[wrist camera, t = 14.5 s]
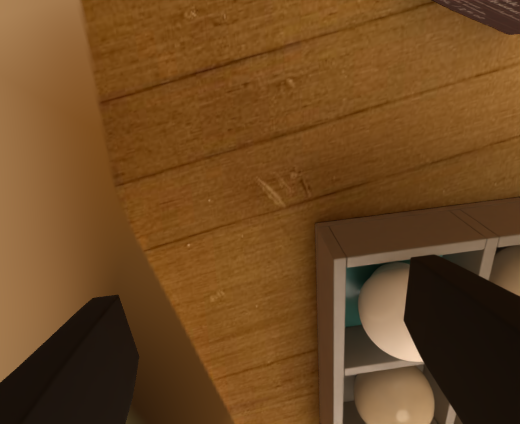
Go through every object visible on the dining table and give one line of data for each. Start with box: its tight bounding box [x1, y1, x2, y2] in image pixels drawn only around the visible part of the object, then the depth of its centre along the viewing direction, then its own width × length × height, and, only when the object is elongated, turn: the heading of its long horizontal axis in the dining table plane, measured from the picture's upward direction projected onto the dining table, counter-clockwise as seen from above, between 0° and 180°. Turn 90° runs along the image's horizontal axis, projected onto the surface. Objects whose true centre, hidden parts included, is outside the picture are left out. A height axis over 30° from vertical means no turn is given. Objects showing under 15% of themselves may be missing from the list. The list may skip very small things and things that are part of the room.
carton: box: [315, 197, 520, 424], centre depth 22 cm, size 15×22×4 cm
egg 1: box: [353, 365, 435, 424], centre depth 21 cm, size 5×5×5 cm
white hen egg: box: [358, 262, 423, 362], centre depth 18 cm, size 5×5×5 cm
